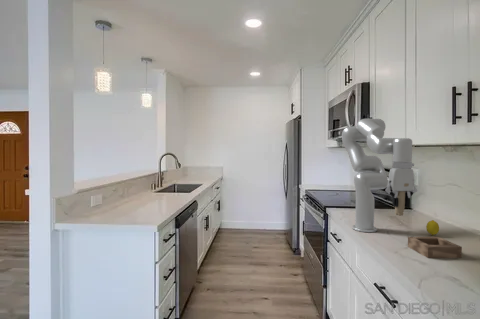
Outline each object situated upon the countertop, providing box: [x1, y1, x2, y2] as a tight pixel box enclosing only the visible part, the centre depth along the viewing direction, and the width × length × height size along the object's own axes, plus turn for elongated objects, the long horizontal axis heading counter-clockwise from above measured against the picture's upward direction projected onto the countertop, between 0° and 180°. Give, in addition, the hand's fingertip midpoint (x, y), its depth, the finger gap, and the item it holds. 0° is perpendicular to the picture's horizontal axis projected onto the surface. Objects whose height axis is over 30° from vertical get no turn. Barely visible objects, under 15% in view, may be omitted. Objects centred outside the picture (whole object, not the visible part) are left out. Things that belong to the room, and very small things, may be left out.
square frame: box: [407, 236, 463, 259], centre depth 128 cm, size 14×14×4 cm
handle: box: [394, 183, 409, 217], centre depth 134 cm, size 5×6×15 cm
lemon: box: [425, 219, 440, 237], centre depth 153 cm, size 6×6×8 cm
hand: (400, 205), depth 134 cm, fingers closed on handle, 4 cm apart
